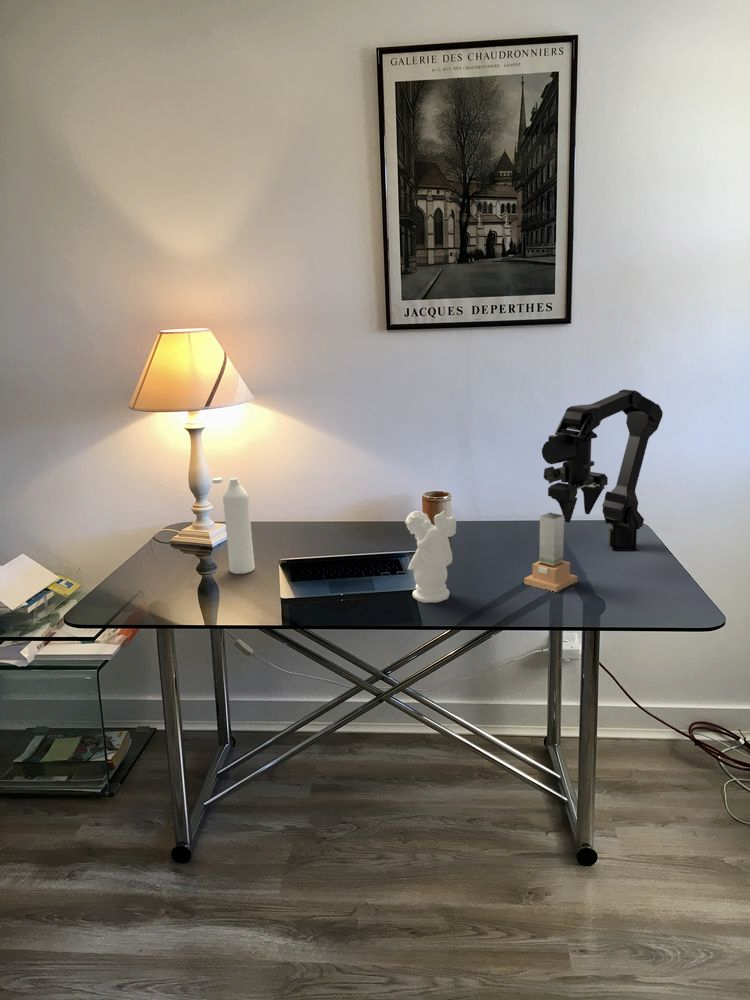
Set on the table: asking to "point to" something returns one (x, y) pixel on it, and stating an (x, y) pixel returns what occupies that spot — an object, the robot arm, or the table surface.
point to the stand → (551, 576)
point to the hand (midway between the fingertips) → (577, 518)
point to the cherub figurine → (431, 555)
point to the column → (551, 538)
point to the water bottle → (238, 527)
